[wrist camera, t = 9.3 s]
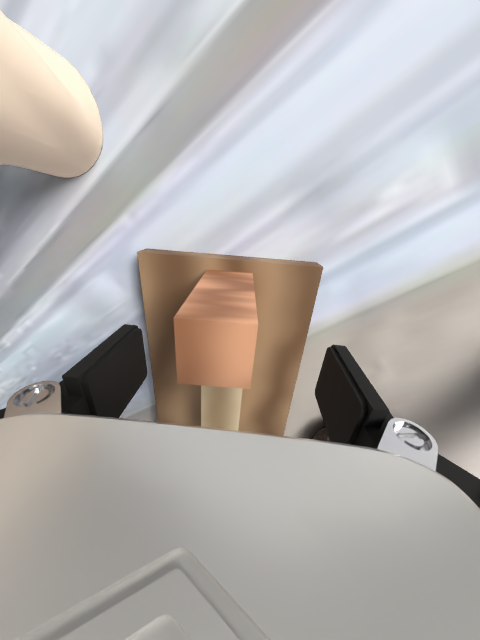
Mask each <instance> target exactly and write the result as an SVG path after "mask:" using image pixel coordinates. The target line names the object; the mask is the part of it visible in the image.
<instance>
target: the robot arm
mask: <svg viewBox="0 0 480 640" xmlns="http://www.w3.org/2000/svg"><path fill="white" fill-rule="evenodd" d="M146 376H147V367H146V360H145V352H144V345H143V337H142V331H141V329H139V328H138V326H136V325H126V324H125V325H123V326H122V327H120V328H119V329H118V330H117V331H116V332H114V333H113V334H112V335H111V336H110V337H108V338H107V339H106V340H105V341H104V342H102V343H101V344H100V345H99V346H98V347H96V348H95V349H94V350H93V351H92V352H90V353H89V354H88V355H87V356H86V357H84V358H83V359H82V360H81V361H80V362H78V363H77V364H76V365H75V366H73V367H72V368H71V369H70V370H69V371H67V372H66V373H65V374H64V375H63V376H62V378H63V380H62V381H61V382H60V383H57V382H54V381H42V382H38V383H34V384H31V385H28V386H26V387H24V388H22V389H20V390H19V391H17V392H16V393H14V394H13V395H12V396H11V397H10V399H9V400H8V402H7V406H6V408H4V409H1V410H0V640H480V479H478V478H477V477H475V476H473V475H472V474H470V473H468V472H467V471H465V470H464V469H462V468H460V467H459V466H457V465H456V464H454V463H452V462H451V461H449V460H447V459H446V458H444V457H443V456H441V455H439V454H438V445H437V443H436V441H435V439H434V438H433V437H432V436H431V435H430V433H429V432H427V431H426V430H425V429H424V428H422V427H421V426H419V425H418V424H416V423H414V422H412V421H409V420H407V419H403V418H393V416H392V415H391V413H390V412H389V409H388V408H387V406H386V405H385V403H384V402H383V400H382V399H381V397H380V396H379V395H378V393H377V392H376V390H375V389H374V387H373V386H372V384H371V383H370V381H369V380H368V378H367V377H366V375H365V374H364V373H363V371H362V370H361V368H360V367H359V365H358V364H357V362H356V361H355V359H354V358H353V356H352V355H351V353H350V352H349V351H348V349H347V348H346V347H345V346H340V345H332V346H331V347H328V348H327V351H326V354H325V357H324V361H323V364H322V368H321V371H320V375H319V378H318V382H317V385H316V388H315V396H316V399H317V402H318V405H319V409H320V412H321V415H322V418H323V421H324V424H325V427H326V430H327V433H328V436H329V439H330V442H329V441H321V440H313V439H305V438H296V437H288V436H279V435H271V434H262V433H253V432H244V431H235V430H226V429H217V428H208V427H199V426H190V425H181V424H171V423H162V422H152V421H142V420H133V419H123V418H119V417H120V415H121V414H122V412H123V411H124V409H125V408H126V406H127V405H128V403H129V402H130V400H131V399H132V398H133V396H134V395H135V393H136V392H137V390H138V389H139V387H140V386H141V384H142V383H143V381H144V380H145V378H146Z"/></svg>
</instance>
